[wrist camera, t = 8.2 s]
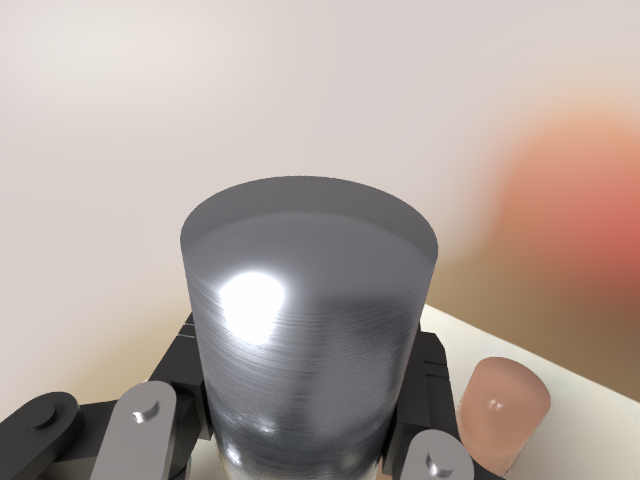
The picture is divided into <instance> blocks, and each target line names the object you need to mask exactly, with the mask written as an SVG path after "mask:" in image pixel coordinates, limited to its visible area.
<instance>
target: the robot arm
mask: <svg viewBox="0 0 640 480" xmlns="http://www.w3.org/2000/svg"><path fill="white" fill-rule="evenodd" d="M212 435H213V428H212V422H211V416H210V411H209V405H208V399H207V393H206V388H205V382H204V376H203V371H202V365H201V359H200V353H199V348H198V342H197V336H196V331H195V325H194V319H193V313H192V312H191V314H190V316H189V317H188V319H187V320H186V322H185V325H183V327H182V328H181V330H180V332H179V333H178V336H176V338H175V339H174V341H173V342H172V344H171V345H170V347H169V349H168V350H167V352H166V353H165V355H164V357H163V358H162V360H161V361H160V363H159V364H158V366H157V367H156V369H155V371H154V372H153V374H152V375H151V377H150V378H149V380H148V381H147V382H144V383H141V384H139V385H136V386H134V387H132V388H131V389H129V390H128V391H127V392H126V393H124V394H123V395H122V396H121V398H120V399H118V400H113V401H107V402H100V403H93V404H85V405H78V403H77V401H76V399H75V398H74V397H73V396H72V395H71V394H69V393H66V392H51V393H47V394H44V395H41V396H39V397H36V398H34V399H32V400H30V401H29V402H27V403H26V404H24V405H23V406H22V407H20V408H19V409H18V410H16V411H15V412H14V413H13V414H11V415H10V416H9V417H8V418H6V419H5V420H4V421H2V422H1V423H0V480H189V475H190V468H191V453H192V451H193V449H194V446H195V444H196V442H197V439H198V438H199V439H204V440H209V441H210V440H211V437H212ZM382 474H384V475H390V476H392V480H506V479H504V478H502V477H500V476H498V475H496V474H494V473H492V472H490V471H489V470H487V469H485V468H484V467H482V466H481V465H480V464H479V463H477V462H476V461H475V460H474V459H473V458H472V457H471V455H470V454H469V453H468V451H467V450H466V448H465V447H464V445H463V443H462V441H461V439H460V436H459V432H458V426H457V420H456V414H455V408H454V402H453V396H452V390H451V384H450V381H449V372H448V367H447V360H446V354H445V348H444V347H443V345H442V344H441V342H440V340H439V339H438V337H437V336H436V334H435V333H429V332H422V331H421V327H420V321H419V325H418V328H417V332H416V335H415V339H414V343H413V346H412V350H411V353H410V357H409V360H408V364H407V368H406V371H405V375H404V378H403V382H402V385H401V389H400V393H399V396H398V400H397V403H396V407H395V410H394V414H393V418H392V421H391V425H390V428H389V432H388V435H387V439H386V443H385V446H384V450H383V453H382Z"/></svg>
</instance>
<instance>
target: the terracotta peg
mask: <svg viewBox="0 0 640 480" xmlns="http://www.w3.org/2000/svg"><path fill="white" fill-rule="evenodd" d="M549 407H550V396H549V393H548V390H547V388H546V387H545V385H544V384H543V382H542V381H541V380H540V378H539V377H538V376H537V375H536V374H534V373H533V372H532V371H531V370H530V369H528V368H527V367H525V366H524V365H522V364H520V363H518V362H516V361H513V360H510V359H507V358H502V357H490V358H486V359H483V360H482V361H480V362H479V363H478V364H477V366H476V367H475V370H474V372H473V374H472V376H471V379H470V381H469V383H468V385H467V388H466V390H465V392H464V394H463V397H462V399H461V401H460V403H459V406H458V408H457V410H456V412H455V414H456V420H457V426H458V432H459V436H460V439H461V441H462V443H463V445H464V447H465V448H466V450H467V451H468V453H469V454H470V455H471V457H472V458H473V459H474V460H475V461H476V462H477V463H479V464H480V465H481V466H482V467H484V468H485V469H487V470H489V471H490V472H492V473H494V474H496V475H498V476H500V477H502V476H503V475H504V474H505V473H506V472H507V471H508V469H509V468H510V466H511V465H512V463H513V462H514V460H515V459H516V457H517V456H518V455H519V453H520V452H521V450H522V449H523V447H524V446H525V444H526V443H527V441H528V440H529V438H530V437H531V435H532V434H533V432H534V431H535V429H536V428H537V426H538V425H539V423H540V422H541V420H542V419H543V417H544V416H545V414H546V413H547V411H548V410H549Z"/></svg>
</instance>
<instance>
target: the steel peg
mask: <svg viewBox="0 0 640 480" xmlns="http://www.w3.org/2000/svg"><path fill="white" fill-rule="evenodd" d="M180 242H181V251H182V256H183V262H184V268H185V273H186V278H187V285H188V291H189V295H190V302H191V307H192V313H193V319H194V325H195V331H196V336H197V342H198V348H199V353H200V359H201V365H202V371H203V376H204V382H205V388H206V393H207V399H208V405H209V411H210V416H211V422H212V428H213V433H214V439H215V445H216V451H217V456H218V462H219V468H220V473H221V479H222V480H375V478H376V475H377V471H378V468H379V464H380V460H381V457H382V453H383V450H384V446H385V443H386V439H387V435H388V432H389V428H390V425H391V421H392V418H393V414H394V410H395V407H396V403H397V400H398V396H399V393H400V389H401V385H402V382H403V378H404V375H405V371H406V368H407V364H408V360H409V357H410V353H411V350H412V346H413V343H414V339H415V335H416V332H417V328H418V325H419V321H420V318H421V314H422V310H423V307H424V303H425V300H426V296H427V292H428V289H429V285H430V282H431V278H432V274H433V271H434V268H435V264H436V260H437V257H438V244H437V238H436V236H435V233H434V231H433V229H432V228H431V226H430V225H429V223H428V222H427V220H426V219H425V218H424V217H423V216H422V215H421V214H420V213H419V212H417V211H416V210H415V209H414V208H413V207H411V206H410V205H408V204H407V203H405V202H404V201H402V200H400V199H398V198H397V197H395V196H393V195H390V194H388V193H386V192H384V191H381V190H379V189H376V188H373V187H370V186H367V185H364V184H360V183H356V182H351V181H346V180H341V179H336V178H328V177H316V176H284V177H273V178H266V179H260V180H256V181H250V182H246V183H243V184H239V185H236V186H234V187H230V188H228V189H225V190H223V191H221V192H219V193H217V194H215V195H213V196H211V197H210V198H208V199H206V200H205V201H204V202H202V203H201V204H200V205H198V206H197V207H196V208H195V209H194V210H193V211H192V212H191V214H190V215H189V216H188V218H187V219H186V221H185V223H184V225H183V227H182V230H181V237H180Z"/></svg>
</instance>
